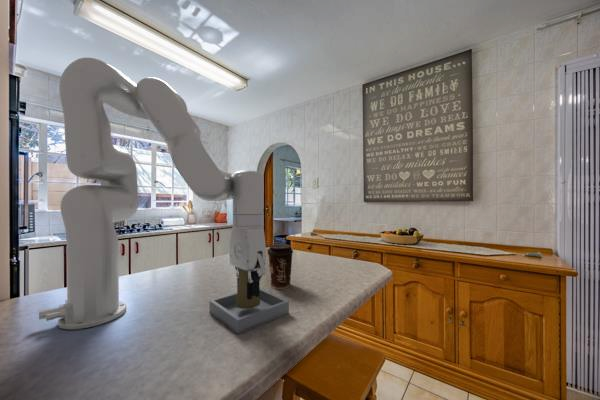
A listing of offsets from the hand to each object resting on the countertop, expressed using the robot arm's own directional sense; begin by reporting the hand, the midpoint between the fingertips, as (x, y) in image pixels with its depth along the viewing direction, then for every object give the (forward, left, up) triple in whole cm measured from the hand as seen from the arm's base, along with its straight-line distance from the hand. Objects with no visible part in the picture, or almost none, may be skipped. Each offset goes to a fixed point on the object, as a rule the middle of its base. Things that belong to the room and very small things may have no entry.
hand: (248, 294), depth 62 cm
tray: (0, 0, -5) cm, 5 cm away
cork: (0, 0, -2) cm, 2 cm away
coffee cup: (+18, +10, -5) cm, 21 cm away
